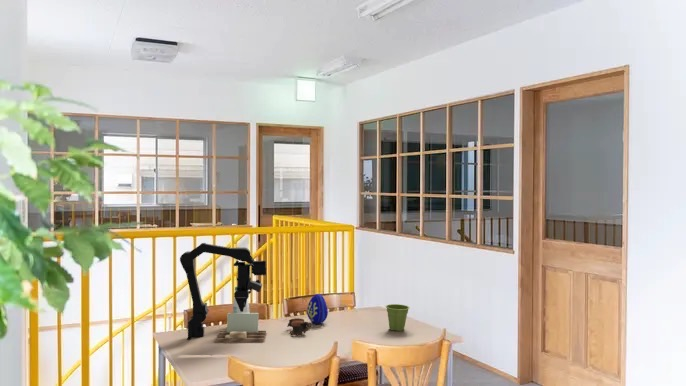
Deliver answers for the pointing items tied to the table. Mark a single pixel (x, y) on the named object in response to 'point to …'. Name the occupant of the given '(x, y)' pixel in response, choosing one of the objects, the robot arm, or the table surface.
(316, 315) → the ornament
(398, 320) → the plant pot
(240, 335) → the upper pine offcut
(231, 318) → the sage board
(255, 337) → the walnut rack
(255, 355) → the table surface
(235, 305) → the milk bottle
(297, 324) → the pottery mug
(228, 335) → the lower pine offcut
